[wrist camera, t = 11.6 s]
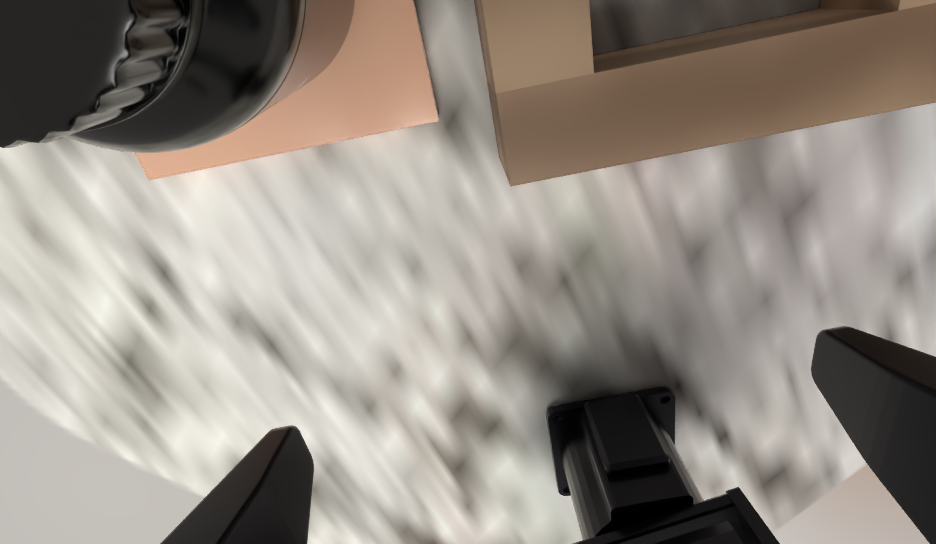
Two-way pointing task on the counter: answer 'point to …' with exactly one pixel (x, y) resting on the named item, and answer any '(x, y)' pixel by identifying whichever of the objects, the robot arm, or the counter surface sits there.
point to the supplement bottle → (156, 67)
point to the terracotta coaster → (332, 96)
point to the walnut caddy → (691, 80)
